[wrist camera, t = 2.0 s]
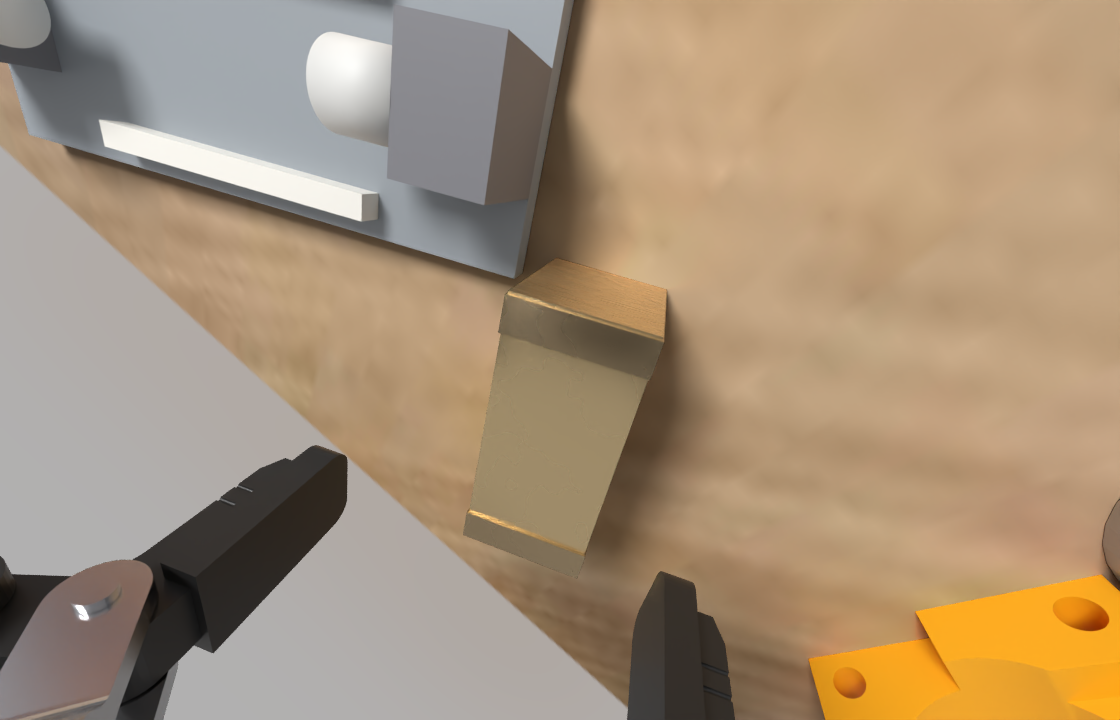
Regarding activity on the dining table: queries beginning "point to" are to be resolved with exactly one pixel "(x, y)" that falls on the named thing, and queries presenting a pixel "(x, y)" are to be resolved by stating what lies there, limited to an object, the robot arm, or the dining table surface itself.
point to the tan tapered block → (561, 408)
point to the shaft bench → (272, 101)
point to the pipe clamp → (990, 661)
